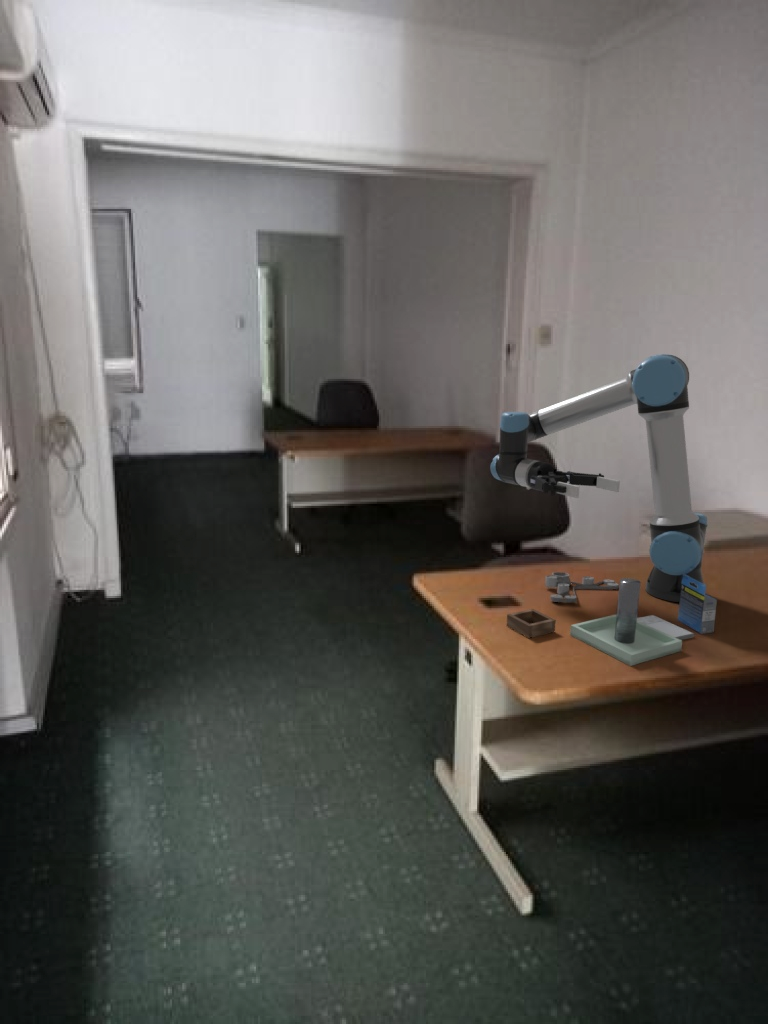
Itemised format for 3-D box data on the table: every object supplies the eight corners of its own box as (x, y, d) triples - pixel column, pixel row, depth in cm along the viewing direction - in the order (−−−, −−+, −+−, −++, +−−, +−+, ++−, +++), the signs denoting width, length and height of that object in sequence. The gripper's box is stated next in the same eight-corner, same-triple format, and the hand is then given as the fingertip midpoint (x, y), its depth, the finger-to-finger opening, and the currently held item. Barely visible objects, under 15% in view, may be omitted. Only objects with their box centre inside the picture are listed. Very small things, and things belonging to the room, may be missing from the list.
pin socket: (532, 620, 172) (533, 608, 171) (554, 631, 165) (555, 620, 164) (506, 626, 168) (507, 614, 167) (528, 638, 161) (529, 626, 160)
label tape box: (714, 633, 166) (721, 584, 163) (699, 634, 165) (706, 585, 162) (690, 619, 174) (696, 572, 171) (675, 620, 173) (681, 573, 170)
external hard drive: (667, 645, 160) (628, 625, 171) (693, 639, 163) (653, 620, 174) (668, 638, 160) (629, 619, 171) (694, 633, 163) (654, 614, 174)
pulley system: (520, 595, 191) (566, 608, 180) (521, 579, 190) (567, 591, 179) (579, 579, 208) (625, 590, 197) (580, 564, 208) (626, 574, 196)
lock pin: (623, 634, 162) (629, 577, 159) (638, 641, 158) (644, 582, 155) (610, 637, 160) (615, 580, 157) (624, 645, 156) (630, 585, 153)
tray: (618, 622, 171) (619, 613, 170) (681, 651, 156) (682, 640, 155) (570, 635, 163) (570, 625, 163) (630, 666, 148) (631, 655, 147)
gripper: (570, 484, 191) (632, 499, 173) (499, 494, 179) (559, 510, 161) (571, 457, 189) (635, 469, 171) (500, 465, 177) (561, 478, 159)
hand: (598, 489), depth 166 cm, fingers open, 13 cm apart
